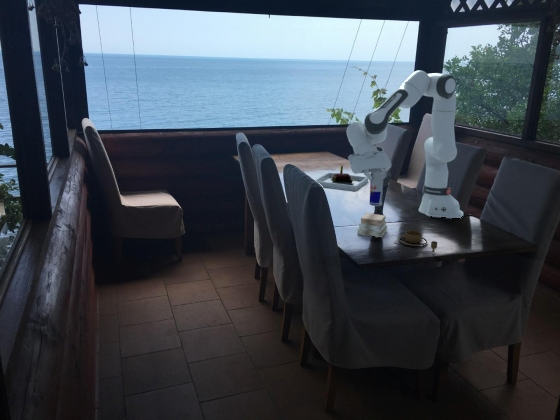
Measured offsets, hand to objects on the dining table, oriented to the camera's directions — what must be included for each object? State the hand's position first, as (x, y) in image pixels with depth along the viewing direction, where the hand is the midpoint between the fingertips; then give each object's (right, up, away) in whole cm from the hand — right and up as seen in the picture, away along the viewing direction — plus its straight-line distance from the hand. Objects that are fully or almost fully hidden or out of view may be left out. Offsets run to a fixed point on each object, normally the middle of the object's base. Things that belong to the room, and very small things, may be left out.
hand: (377, 179), depth 217 cm
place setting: (+14, -30, -7) cm, 34 cm away
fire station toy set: (-3, +2, +93) cm, 93 cm away
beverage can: (0, -12, +4) cm, 12 cm away
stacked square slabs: (-1, -24, +8) cm, 25 cm away
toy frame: (-4, +3, +96) cm, 96 cm away
